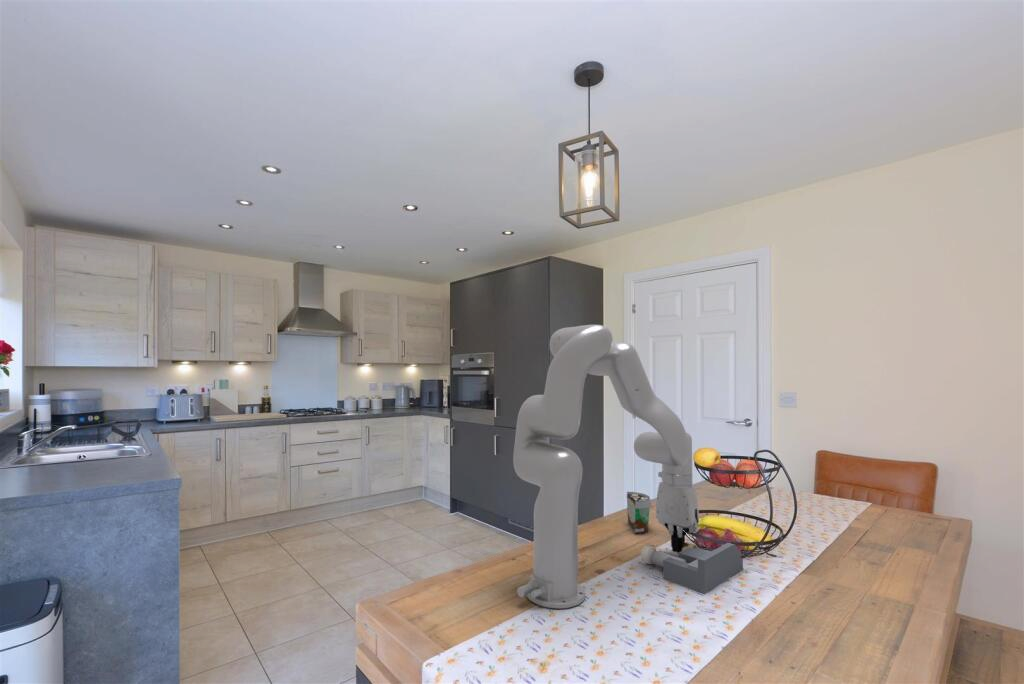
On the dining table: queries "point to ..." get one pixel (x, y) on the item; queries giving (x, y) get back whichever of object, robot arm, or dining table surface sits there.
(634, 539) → the dining table surface
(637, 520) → the food container
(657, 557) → the light grey capped cylinder
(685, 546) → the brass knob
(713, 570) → the mount
